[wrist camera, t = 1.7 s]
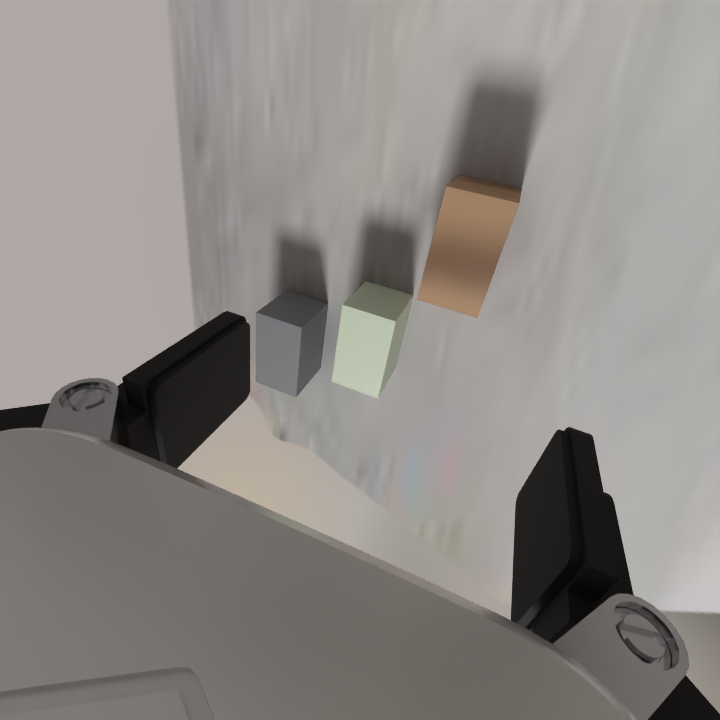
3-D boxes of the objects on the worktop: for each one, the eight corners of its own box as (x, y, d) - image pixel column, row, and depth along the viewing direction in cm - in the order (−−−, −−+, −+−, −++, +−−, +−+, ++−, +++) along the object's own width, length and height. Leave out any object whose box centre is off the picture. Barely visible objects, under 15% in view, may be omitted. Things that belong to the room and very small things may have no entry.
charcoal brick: (287, 289, 35) (256, 312, 31) (328, 302, 35) (301, 327, 31) (284, 354, 39) (255, 381, 35) (320, 367, 38) (296, 397, 35)
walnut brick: (459, 174, 26) (445, 186, 22) (521, 188, 25) (519, 203, 21) (432, 274, 30) (416, 299, 26) (485, 289, 29) (477, 317, 25)
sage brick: (366, 280, 32) (342, 304, 28) (413, 294, 31) (395, 321, 27) (354, 351, 36) (331, 381, 32) (395, 365, 35) (377, 398, 31)
